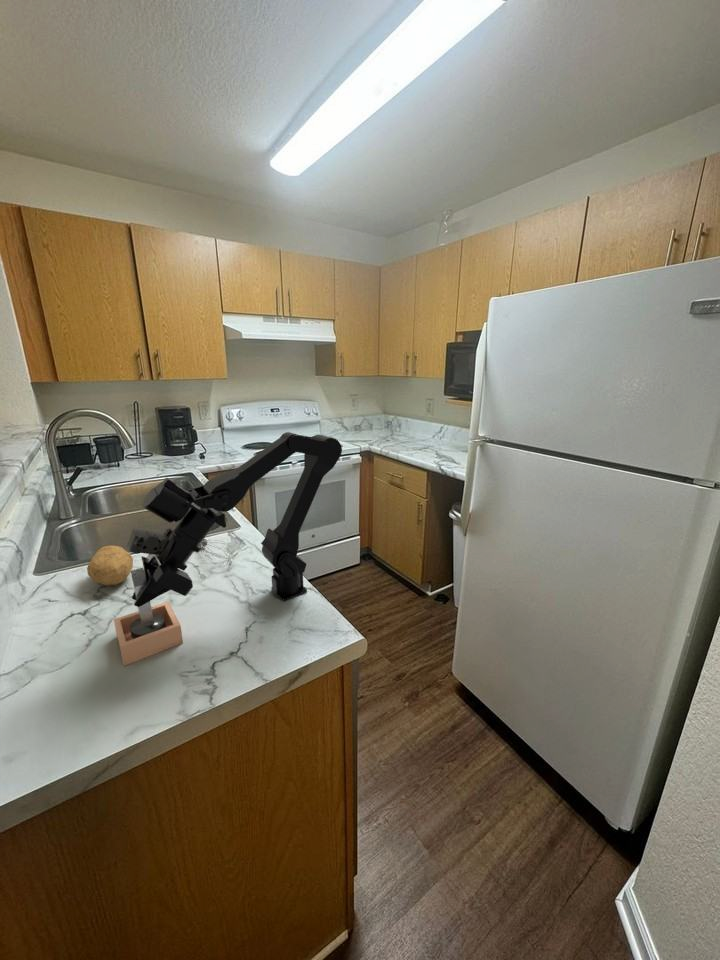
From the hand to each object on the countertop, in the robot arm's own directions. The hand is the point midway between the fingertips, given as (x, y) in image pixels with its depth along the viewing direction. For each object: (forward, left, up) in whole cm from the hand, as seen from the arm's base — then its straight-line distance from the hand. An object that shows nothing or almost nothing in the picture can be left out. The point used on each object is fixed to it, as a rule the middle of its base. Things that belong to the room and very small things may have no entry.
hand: (135, 602), depth 73 cm
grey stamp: (-1, 0, -7) cm, 7 cm away
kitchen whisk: (-21, -34, -9) cm, 41 cm away
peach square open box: (-1, 0, -9) cm, 9 cm away
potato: (+2, -30, -9) cm, 31 cm away
